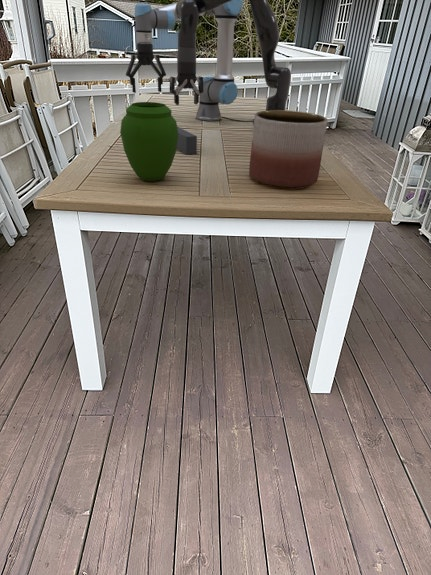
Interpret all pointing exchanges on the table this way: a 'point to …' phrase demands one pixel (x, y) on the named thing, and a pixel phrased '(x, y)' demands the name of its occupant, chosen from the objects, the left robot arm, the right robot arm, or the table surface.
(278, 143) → the planter
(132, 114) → the vase
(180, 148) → the beam
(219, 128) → the table surface
